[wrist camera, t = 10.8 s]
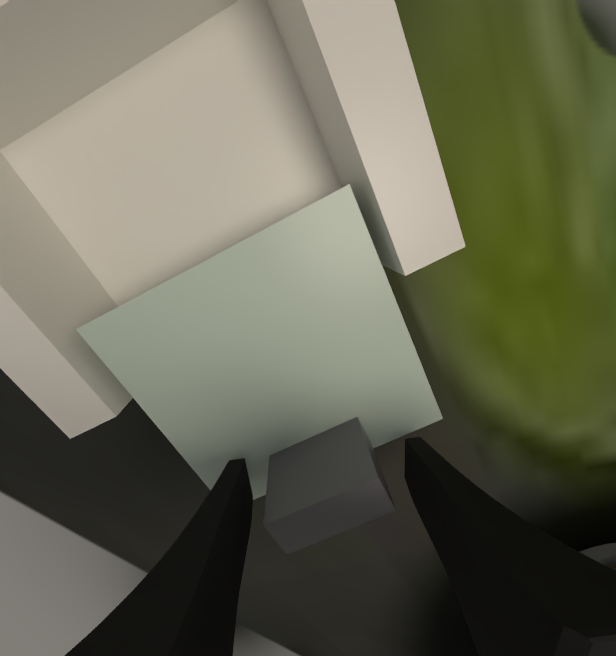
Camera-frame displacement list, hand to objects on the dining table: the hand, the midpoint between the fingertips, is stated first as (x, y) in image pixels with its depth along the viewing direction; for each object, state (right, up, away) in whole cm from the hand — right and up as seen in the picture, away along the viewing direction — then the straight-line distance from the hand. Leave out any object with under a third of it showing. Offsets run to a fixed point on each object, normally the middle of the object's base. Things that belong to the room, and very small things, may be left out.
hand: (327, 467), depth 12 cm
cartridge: (-2, +5, +2) cm, 6 cm away
